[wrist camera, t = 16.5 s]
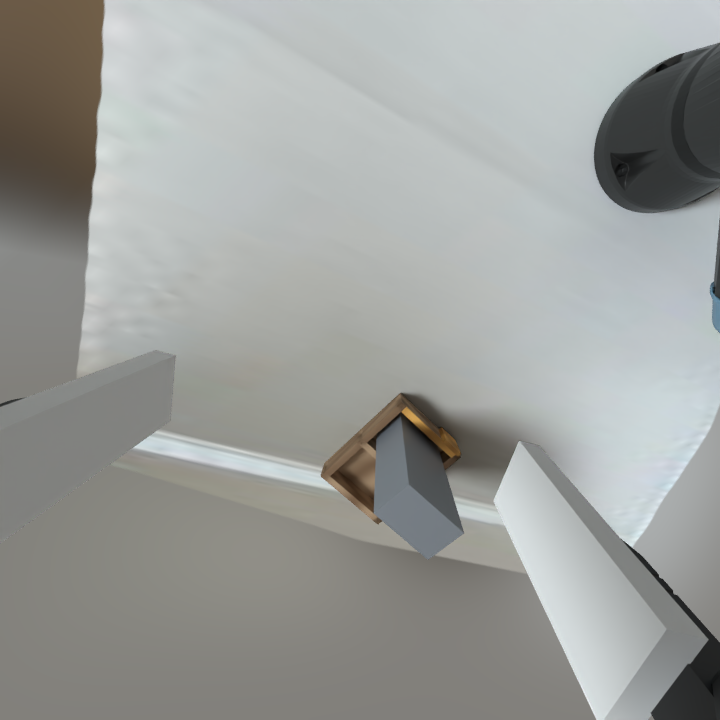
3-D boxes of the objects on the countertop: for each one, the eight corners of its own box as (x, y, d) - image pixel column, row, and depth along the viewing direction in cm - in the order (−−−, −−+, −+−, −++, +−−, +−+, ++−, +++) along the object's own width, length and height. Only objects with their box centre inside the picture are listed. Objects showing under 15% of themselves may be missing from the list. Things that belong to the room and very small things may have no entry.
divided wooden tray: (324, 463, 53) (319, 480, 49) (403, 390, 49) (405, 401, 44) (378, 509, 54) (377, 529, 50) (459, 442, 50) (465, 458, 46)
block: (376, 433, 50) (373, 513, 34) (400, 411, 49) (408, 484, 33) (413, 466, 51) (428, 559, 35) (437, 446, 50) (464, 533, 34)
